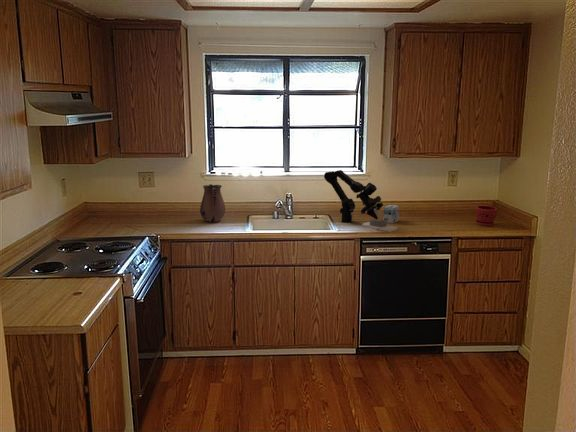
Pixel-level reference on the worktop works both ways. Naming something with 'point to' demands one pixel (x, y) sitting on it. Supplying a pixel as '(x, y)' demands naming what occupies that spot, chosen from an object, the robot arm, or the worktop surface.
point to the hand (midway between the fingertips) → (379, 218)
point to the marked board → (384, 228)
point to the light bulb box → (391, 213)
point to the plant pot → (485, 215)
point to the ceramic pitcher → (212, 203)
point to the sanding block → (379, 221)
